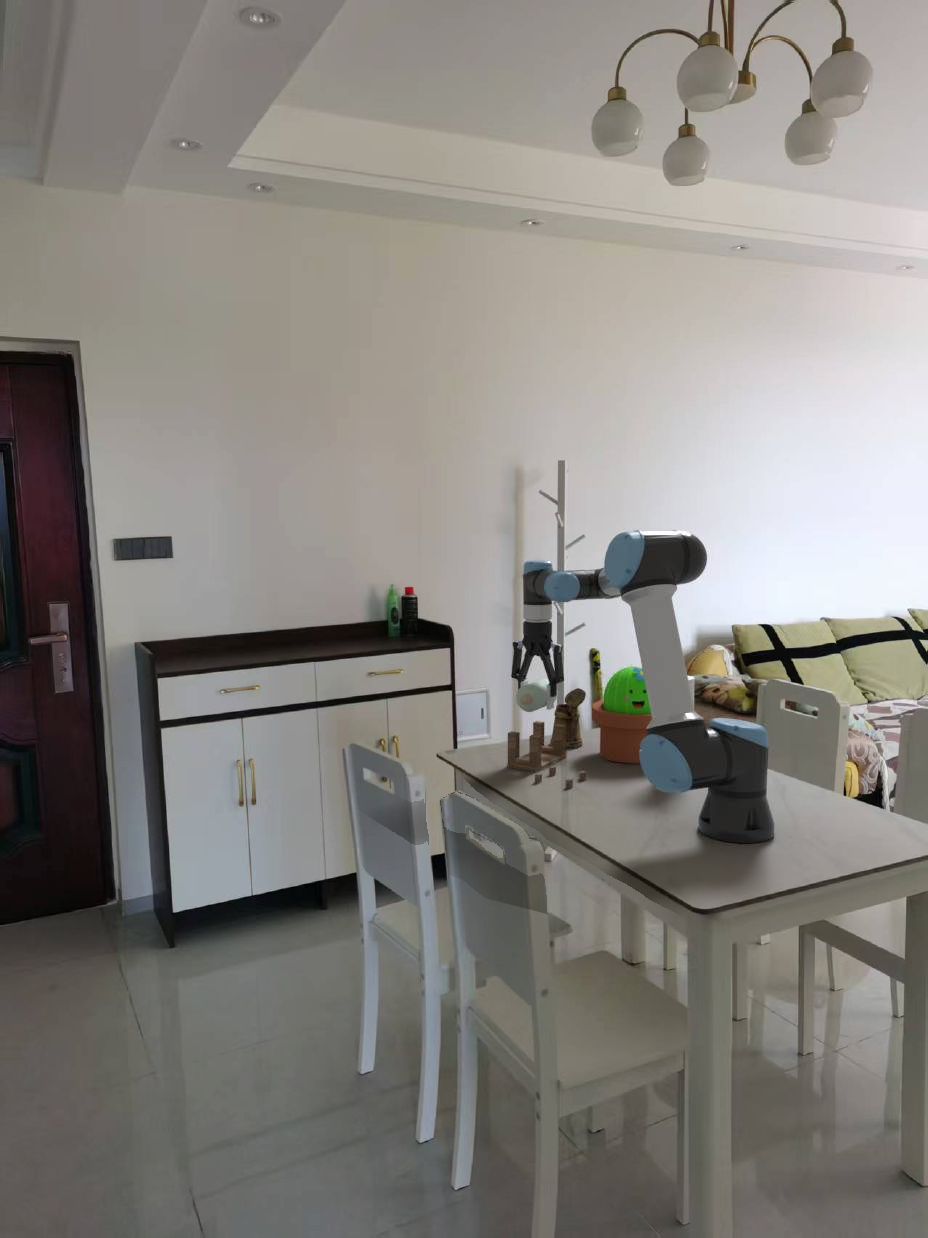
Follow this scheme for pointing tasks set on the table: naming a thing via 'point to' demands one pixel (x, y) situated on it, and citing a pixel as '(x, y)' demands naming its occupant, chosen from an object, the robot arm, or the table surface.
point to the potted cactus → (623, 716)
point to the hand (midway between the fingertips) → (537, 707)
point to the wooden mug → (570, 718)
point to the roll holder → (537, 748)
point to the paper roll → (533, 695)
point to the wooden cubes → (553, 771)
